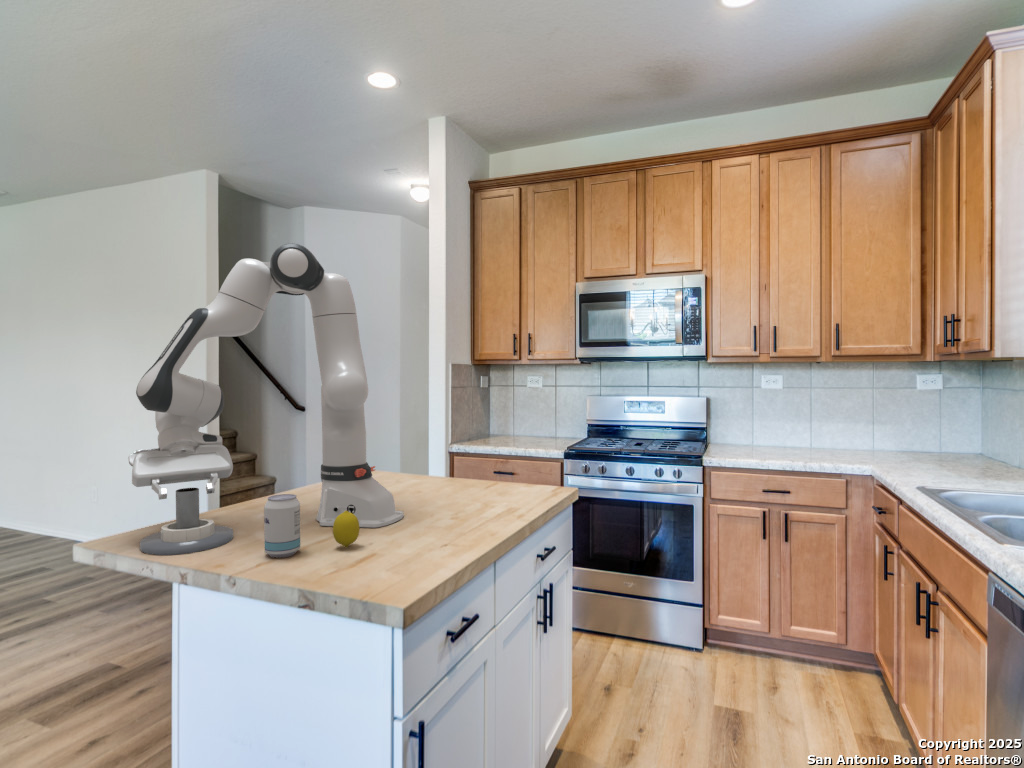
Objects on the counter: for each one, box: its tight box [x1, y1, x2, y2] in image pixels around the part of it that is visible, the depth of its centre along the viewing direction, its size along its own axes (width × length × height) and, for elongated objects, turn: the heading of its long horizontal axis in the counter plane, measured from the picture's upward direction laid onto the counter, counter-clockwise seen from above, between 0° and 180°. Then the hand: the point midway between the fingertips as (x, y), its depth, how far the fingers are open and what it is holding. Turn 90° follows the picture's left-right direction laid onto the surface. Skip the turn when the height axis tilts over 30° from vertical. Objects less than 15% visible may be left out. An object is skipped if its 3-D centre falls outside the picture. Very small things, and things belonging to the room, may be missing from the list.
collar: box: [139, 518, 234, 556], centre depth 126 cm, size 18×18×4 cm
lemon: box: [332, 511, 360, 548], centre depth 122 cm, size 6×6×8 cm
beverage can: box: [263, 493, 301, 559], centre depth 117 cm, size 7×7×12 cm
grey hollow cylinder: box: [175, 487, 200, 530], centre depth 126 cm, size 4×4×10 cm
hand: (187, 494), depth 127 cm, fingers open, 8 cm apart
